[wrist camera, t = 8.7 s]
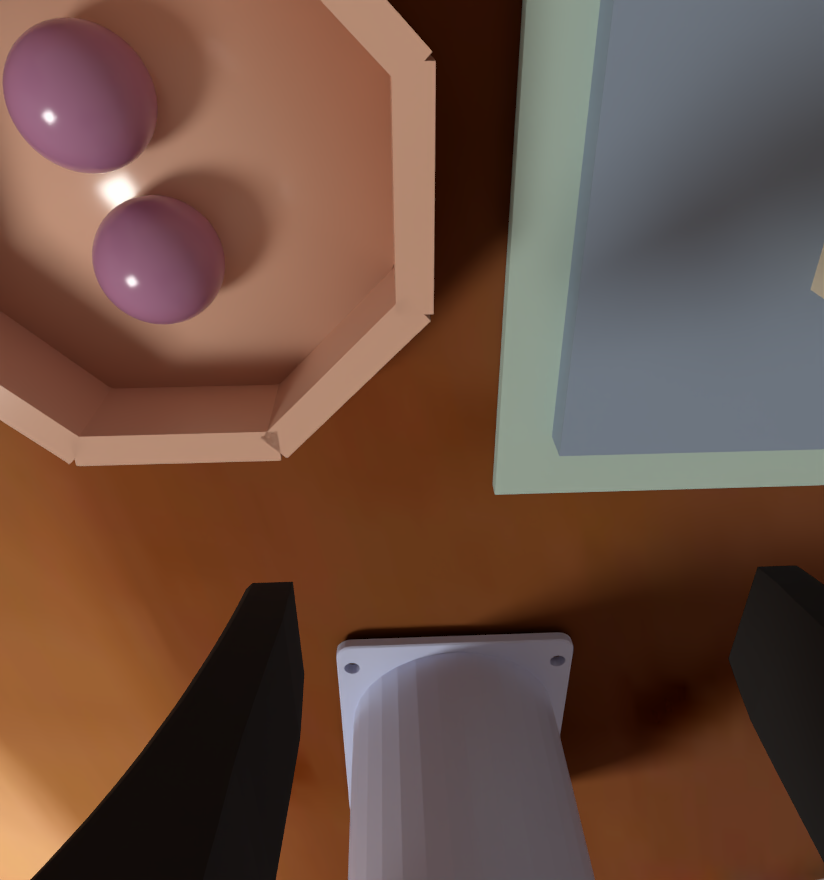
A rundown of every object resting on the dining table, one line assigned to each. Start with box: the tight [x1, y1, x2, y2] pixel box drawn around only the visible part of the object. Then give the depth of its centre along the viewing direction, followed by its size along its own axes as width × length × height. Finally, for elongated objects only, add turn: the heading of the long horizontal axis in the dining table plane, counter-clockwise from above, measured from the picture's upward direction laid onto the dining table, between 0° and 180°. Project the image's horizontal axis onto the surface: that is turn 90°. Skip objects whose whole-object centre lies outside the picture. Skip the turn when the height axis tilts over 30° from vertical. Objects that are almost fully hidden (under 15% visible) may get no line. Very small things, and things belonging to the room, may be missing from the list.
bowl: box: [0, 0, 436, 466], centre depth 15 cm, size 12×12×3 cm
